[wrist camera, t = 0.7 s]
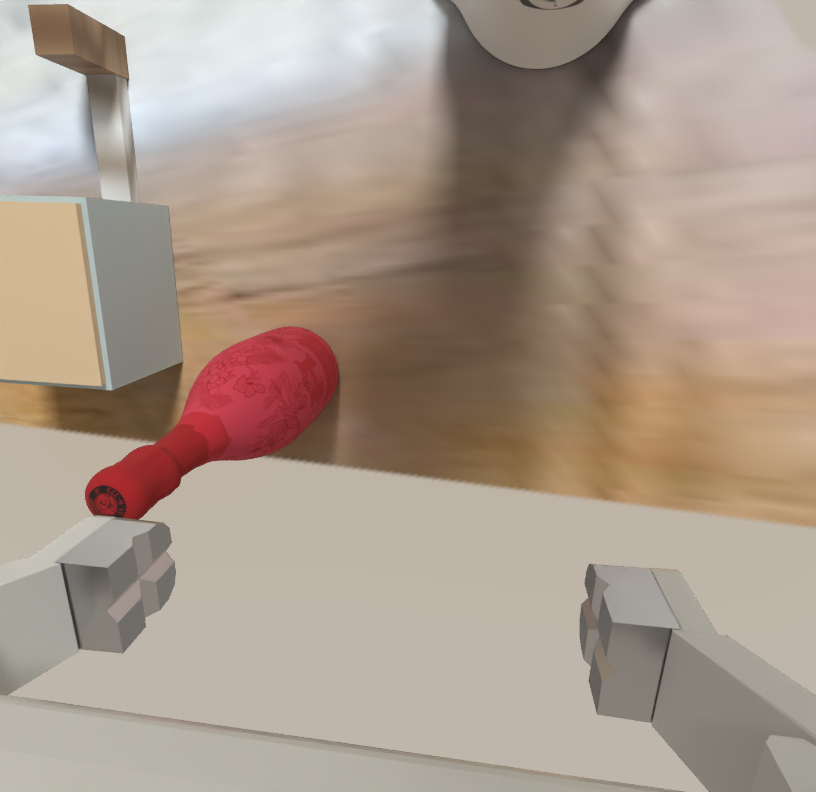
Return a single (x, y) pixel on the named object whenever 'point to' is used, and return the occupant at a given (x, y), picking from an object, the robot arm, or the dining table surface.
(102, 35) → the wood-handled metal tool
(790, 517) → the dining table surface
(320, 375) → the wine bottle
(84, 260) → the cabinet
